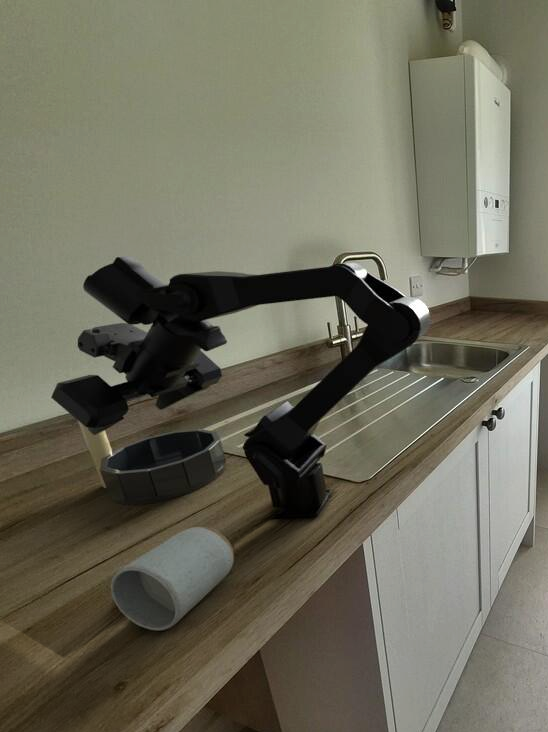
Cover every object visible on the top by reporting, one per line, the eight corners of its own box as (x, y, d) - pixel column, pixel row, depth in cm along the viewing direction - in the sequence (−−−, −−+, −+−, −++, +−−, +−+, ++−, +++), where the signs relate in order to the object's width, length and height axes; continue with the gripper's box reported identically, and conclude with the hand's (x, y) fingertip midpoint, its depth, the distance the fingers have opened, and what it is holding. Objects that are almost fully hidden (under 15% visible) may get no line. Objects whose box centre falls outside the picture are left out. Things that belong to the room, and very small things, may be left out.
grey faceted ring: (240, 452, 76) (224, 386, 72) (199, 498, 62) (176, 419, 58) (135, 462, 73) (111, 393, 68) (66, 512, 59) (32, 430, 55)
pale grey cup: (246, 574, 49) (231, 519, 46) (186, 635, 41) (163, 574, 39) (168, 567, 50) (149, 514, 48) (95, 625, 42) (68, 566, 40)
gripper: (187, 296, 62) (148, 363, 68) (32, 315, 45) (-4, 403, 50) (243, 348, 64) (200, 409, 69) (113, 386, 46) (70, 465, 52)
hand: (128, 419), depth 60 cm, fingers open, 9 cm apart
